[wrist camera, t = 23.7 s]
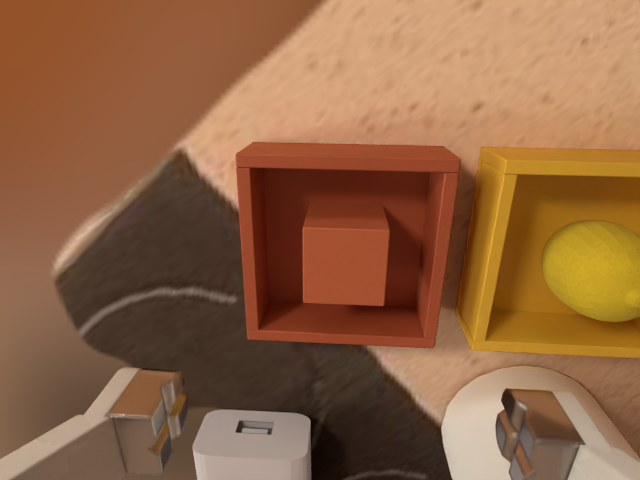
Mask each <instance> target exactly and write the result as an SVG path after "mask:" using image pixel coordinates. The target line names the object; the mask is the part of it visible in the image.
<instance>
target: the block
mask: <svg viewBox="0 0 640 480" xmlns="http://www.w3.org/2000/svg"><path fill="white" fill-rule="evenodd" d="M389 237H390V229H389V225H388V222H387V218H386V215H385V211H384V207H383V205H368V204H330V203H310V205H309V209H308V212H307V215H306V219H305V222H304V225H303V302H304V303H321V304H346V305H370V306H384V302H385V289H386V276H387V263H388V250H389Z"/></svg>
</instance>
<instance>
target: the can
mask: <svg viewBox="0 0 640 480" xmlns="http://www.w3.org/2000/svg"><path fill="white" fill-rule="evenodd" d="M506 388H509V389H531V390H563V391H571V392H572V393H574V394H575V395H576V397H577V398H578V400H579V401H580V403H581V404H582V405H583V407H584V408H585V410H586V411H587V412H588V414H589V415H590V417H591V418H592V419H593V421H594V422H595V424H596V425H597V426H598V428H599V429H600V431H601V432H602V433H603V435H604V436H605V438H606V439H607V441H608V442H609V443H610V445H611V446H612V447H619V448H621V449H622V450H624V451H625V452H627V453H628V454H630V455H631V456H633V457H634V458H636V459H637V460H639V461H640V458H639V457H638V455H637V454H636V453H635V452H634V450H633V449H632V448H631V446H630V445H629V444H628V442H627V441H626V440H625V438H624V437H623V436H622V435H621V433H620V432H619V431H618V429H617V428H616V427H615V425H614V424H613V423H612V422H611V420H610V419H609V418H608V416H607V415H606V414H605V412H604V411H603V410H602V409H601V407H600V406H599V405H598V403H597V402H596V401H595V399H594V398H593V397H592V395H591V394H590V393H589V392H587V391H586V390H585V389H584V388H583V387H582V386H581V385H580V384H579V383H578V382H577V381H576V380H574V379H572V378H570V377H567V376H565V375H563V374H560V373H558V372H556V371H553V370H551V369H549V368H541V367H534V366H526V365H524V366H516V367H507V368H500V369H497V370H495V371H492V372H489V373H487V374H484V375H481V376H479V377H477V378H475V379H474V380H473V381H471V382H470V383H468V384H467V385H466V386H464V387H463V388H461V389H460V390H459V391H458V393H457V394H456V395H455V396H454V398H453V399H452V400H451V402H450V403H449V404H448V406H447V409H446V413H445V416H444V420H443V423H442V427H441V431H442V439H443V446H444V450H445V454H446V457H447V461H448V465H449V469H450V473H451V477H452V480H511V477H510V475H509V469H510V465H511V463H510V462H509V461H508V460H506V459H505V458H504V457H503V456H502V455H501V452H500V450H499V447H498V443H497V439H496V428H495V424H496V419H497V414H498V413H500V412H501V411H502V410H503V409H504V407H503V404H502V402H501V398H502V394H503V392H504V390H505V389H506Z"/></svg>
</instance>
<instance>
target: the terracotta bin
mask: <svg viewBox="0 0 640 480" xmlns="http://www.w3.org/2000/svg"><path fill="white" fill-rule="evenodd" d="M460 163H461V159H460V158H458V157H457V156H456V155H454V154H453V153H451V152H450V151H449V150H447V149H446V148H445V147H443V146H407V145H360V144H313V143H265V142H253V143H251V144H250V145H248V146H247V147H246V148H244V149H243V150H241V151H240V152H238V153H237V154H236V166H237V168H236V172H237V187H238V202H239V217H240V232H241V248H242V263H243V278H244V293H245V308H246V323H247V336H248V339H250V340H271V341H292V342H312V343H333V344H354V345H375V346H396V347H417V348H434V347H435V341H436V339H435V338H436V334H437V327H438V320H439V313H440V305H441V298H442V291H443V284H444V277H445V270H446V263H447V256H448V249H449V241H450V234H451V227H452V220H453V213H454V206H455V199H456V192H457V185H458V177H459V173H458V172H459V170H460ZM310 203H330V204H368V205H383V207H384V211H385V215H386V218H387V222H388V225H389V229H390V237H389V250H388V263H387V276H386V289H385V302H384V306H370V305H346V304H321V303H304V302H303V225H304V222H305V219H306V215H307V212H308V209H309V205H310Z"/></svg>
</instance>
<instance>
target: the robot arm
mask: <svg viewBox="0 0 640 480" xmlns="http://www.w3.org/2000/svg"><path fill="white" fill-rule="evenodd" d="M183 385H184V378H183V373H182V372H180V371H173V370H161V369H148V368H142V369H141V368H130V367H123V368H121V369H119V370H118V371H117V372H116V374H115V375H114V376H113V378H112V379H111V381H110V382H109V383H108V384H107V385H106V387H105V388H104V389H103V391H102V392H101V393H100V395H99V396H98V397H97V399H96V400H95V401H94V402H93V404H92V405H91V406H90V408H89V409H88V410H87V412H86V413H85V414H84V415H77V416H75V417H73V418H71V419H70V420H68V421H66V422H64V423H63V424H61V425H59V426H57V427H56V428H54V429H52V430H51V431H49V432H47V433H45V434H44V435H42V436H40V437H39V438H37V439H35V440H33V441H31V442H30V443H28V444H26V445H24V446H23V447H21V448H19V449H17V450H16V451H14V452H12V453H11V454H9V455H7V456H5V457H4V458H2V459H0V480H123V479H124V478H125V477H126V476H127V475H126V474H139V475H140V474H141V475H162V474H163V472H164V469H165V467H166V465H167V463H168V461H169V458H170V456H171V454H172V452H173V447H172V441H173V440H175V439H176V438H177V437H178V436H180V434H181V432H182V430H183V427H184V425H185V421H186V417H187V406H188V404H187V397H186V396H185V395H184V394H183V393H182V391H181V389H182V387H183ZM501 402H502V404H503V407H504V409H503V410H502V411H501V412H500V413H498V414H497V419H496V424H495V428H496V439H497V443H498V447H499V450H500V452H501V455H502V456H503V457H504V458H505V459H506V460H508V461H509V462H510V463H511V465H510V469H509V475H510V477H511V480H640V461H639V460H637V459H636V458H634V457H633V456H631V455H630V454H628V453H627V452H625V451H624V450H622V449H621V448H619V447H612V446H611V445H610V443H609V442H608V441H607V439H606V438H605V436H604V435H603V433H602V432H601V431H600V429H599V428H598V426H597V425H596V424H595V422H594V421H593V419H592V418H591V417H590V415H589V414H588V412H587V411H586V410H585V408H584V407H583V405H582V404H581V403H580V401H579V400H578V398H577V397H576V395H575V394H574V393H572V392H571V391H563V390H531V389H509V388H506V389H505V390H504V392H503V394H502V398H501Z"/></svg>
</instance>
